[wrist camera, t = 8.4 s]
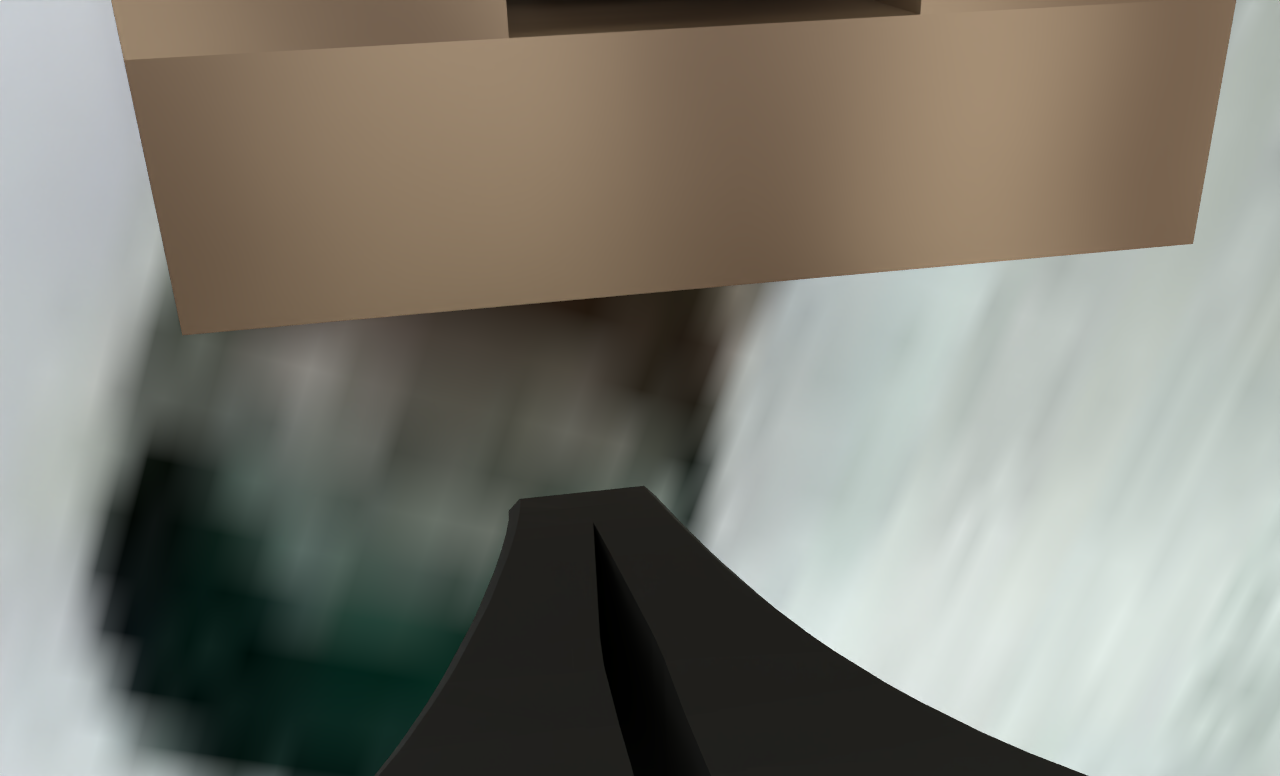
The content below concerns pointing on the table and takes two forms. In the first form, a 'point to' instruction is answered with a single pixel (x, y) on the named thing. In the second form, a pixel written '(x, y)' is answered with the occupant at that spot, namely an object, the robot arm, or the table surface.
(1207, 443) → the table surface
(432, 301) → the walnut block
